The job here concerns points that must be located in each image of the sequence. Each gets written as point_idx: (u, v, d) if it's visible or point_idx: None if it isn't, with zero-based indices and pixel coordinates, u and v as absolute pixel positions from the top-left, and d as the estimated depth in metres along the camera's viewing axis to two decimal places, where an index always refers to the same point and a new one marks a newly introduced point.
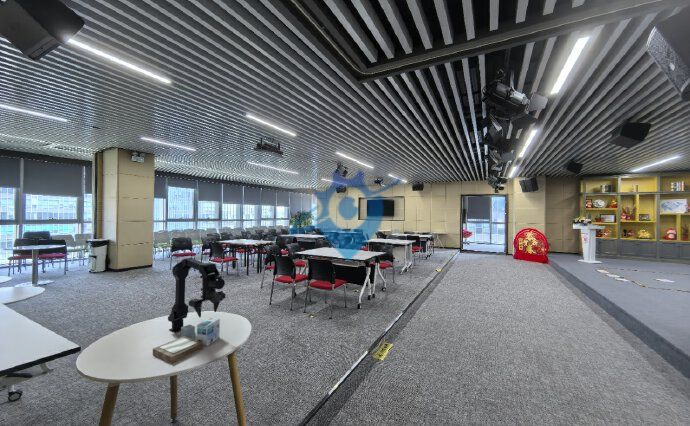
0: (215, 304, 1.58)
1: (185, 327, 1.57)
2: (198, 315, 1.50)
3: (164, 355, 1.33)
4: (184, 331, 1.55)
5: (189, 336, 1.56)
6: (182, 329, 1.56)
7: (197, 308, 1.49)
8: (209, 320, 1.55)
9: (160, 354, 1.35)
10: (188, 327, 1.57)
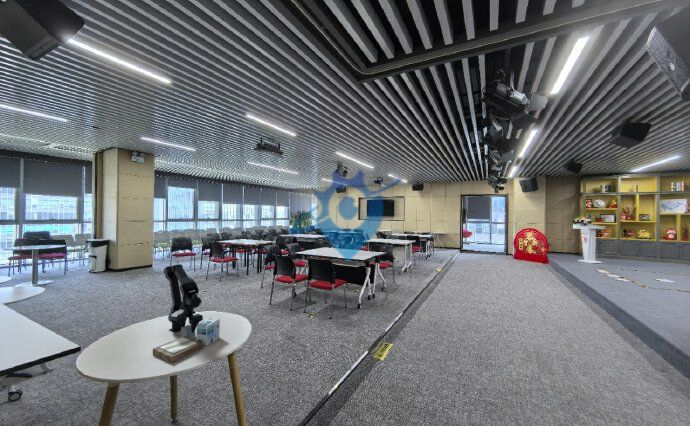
0: None
1: (185, 327, 1.57)
2: (183, 326, 1.60)
3: (164, 355, 1.33)
4: (184, 331, 1.55)
5: (189, 336, 1.56)
6: (182, 329, 1.56)
7: None
8: (209, 320, 1.55)
9: (160, 354, 1.35)
10: (188, 327, 1.57)
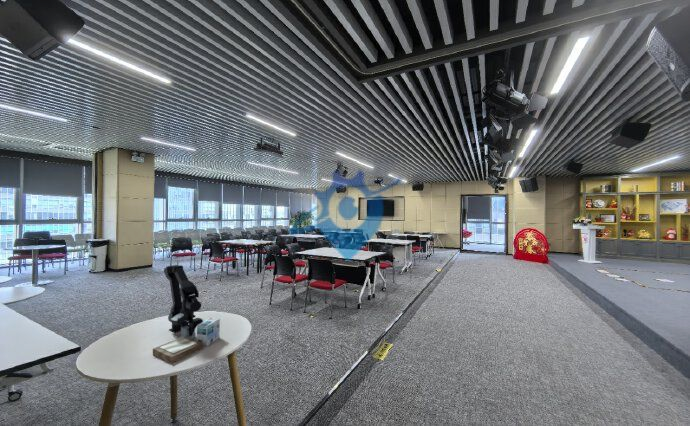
0: None
1: (185, 327, 1.57)
2: None
3: (164, 355, 1.33)
4: (184, 331, 1.55)
5: (189, 336, 1.56)
6: (182, 329, 1.56)
7: None
8: (209, 320, 1.55)
9: (160, 354, 1.35)
10: (188, 327, 1.57)
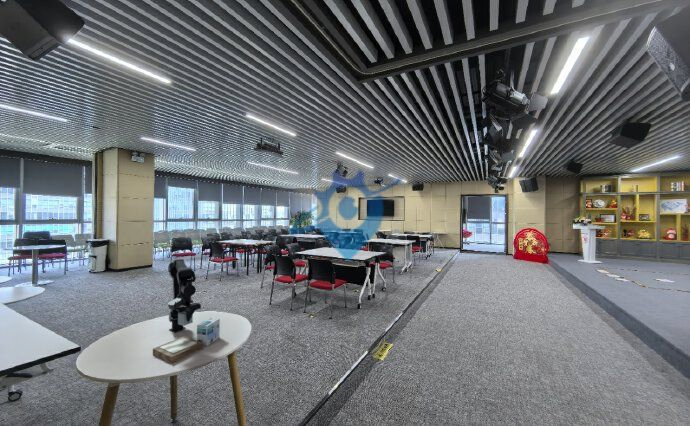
0: None
1: (182, 312, 1.51)
2: None
3: (164, 355, 1.33)
4: (182, 316, 1.49)
5: (187, 322, 1.50)
6: (179, 314, 1.50)
7: None
8: (209, 320, 1.55)
9: (160, 354, 1.35)
10: (185, 312, 1.51)
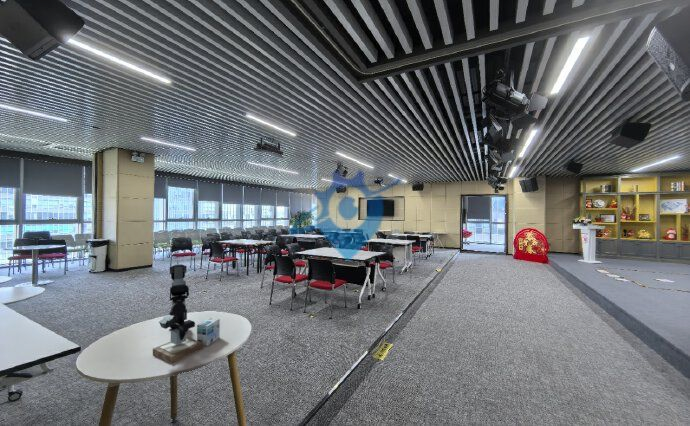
0: None
1: (175, 330, 1.41)
2: None
3: (164, 355, 1.33)
4: (174, 335, 1.39)
5: (180, 340, 1.40)
6: (172, 332, 1.40)
7: None
8: (209, 320, 1.55)
9: (160, 354, 1.35)
10: None
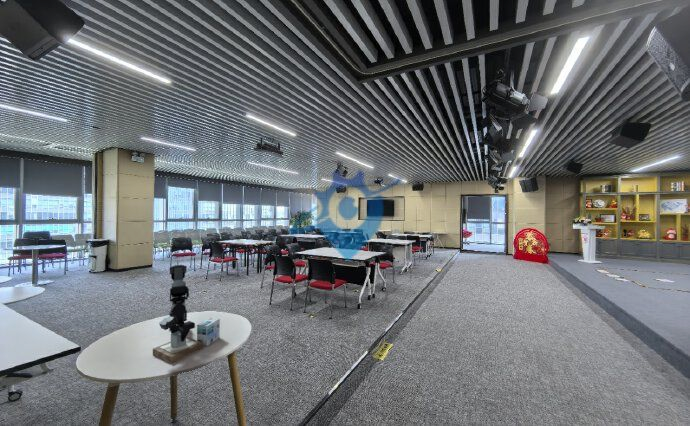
0: None
1: (175, 333, 1.41)
2: None
3: (164, 355, 1.33)
4: (174, 338, 1.39)
5: (180, 343, 1.40)
6: (172, 336, 1.40)
7: None
8: (209, 320, 1.55)
9: (160, 354, 1.35)
10: (179, 333, 1.41)
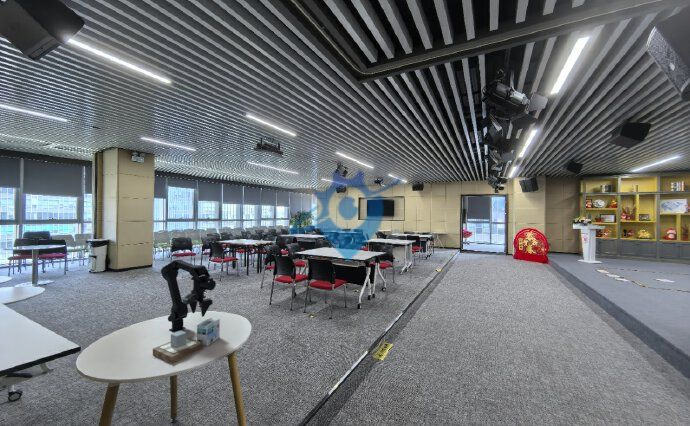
0: None
1: (175, 333, 1.41)
2: None
3: (164, 355, 1.33)
4: (174, 338, 1.39)
5: (180, 343, 1.40)
6: (172, 336, 1.40)
7: None
8: (209, 320, 1.55)
9: (160, 354, 1.35)
10: (179, 333, 1.41)
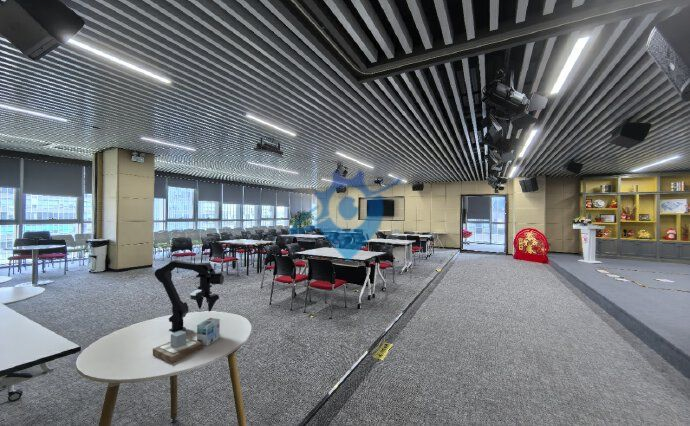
0: None
1: (175, 333, 1.41)
2: None
3: (164, 355, 1.33)
4: (174, 338, 1.39)
5: (180, 343, 1.40)
6: (172, 336, 1.40)
7: None
8: (209, 320, 1.55)
9: (160, 354, 1.35)
10: (179, 333, 1.41)
